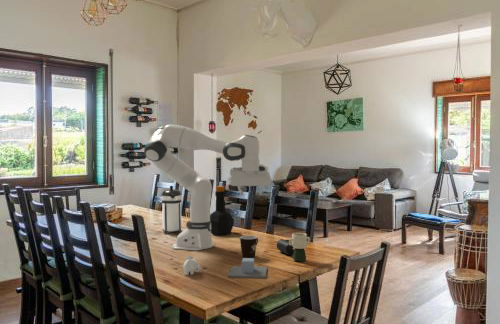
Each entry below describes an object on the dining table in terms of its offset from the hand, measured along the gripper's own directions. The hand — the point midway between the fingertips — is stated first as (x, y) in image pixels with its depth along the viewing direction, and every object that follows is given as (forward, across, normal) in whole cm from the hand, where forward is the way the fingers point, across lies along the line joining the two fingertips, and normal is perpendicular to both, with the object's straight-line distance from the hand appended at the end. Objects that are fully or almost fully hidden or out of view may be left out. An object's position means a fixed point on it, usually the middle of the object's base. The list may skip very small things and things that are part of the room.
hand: (250, 194), depth 210 cm
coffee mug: (+31, 0, -1) cm, 31 cm away
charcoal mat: (+31, +1, -27) cm, 41 cm away
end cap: (+32, +18, +6) cm, 37 cm away
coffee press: (+31, -57, +55) cm, 85 cm away
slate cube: (+30, +1, -27) cm, 41 cm away
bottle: (+31, -24, +51) cm, 65 cm away
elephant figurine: (+31, -24, -29) cm, 49 cm away
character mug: (+31, +24, -7) cm, 40 cm away
